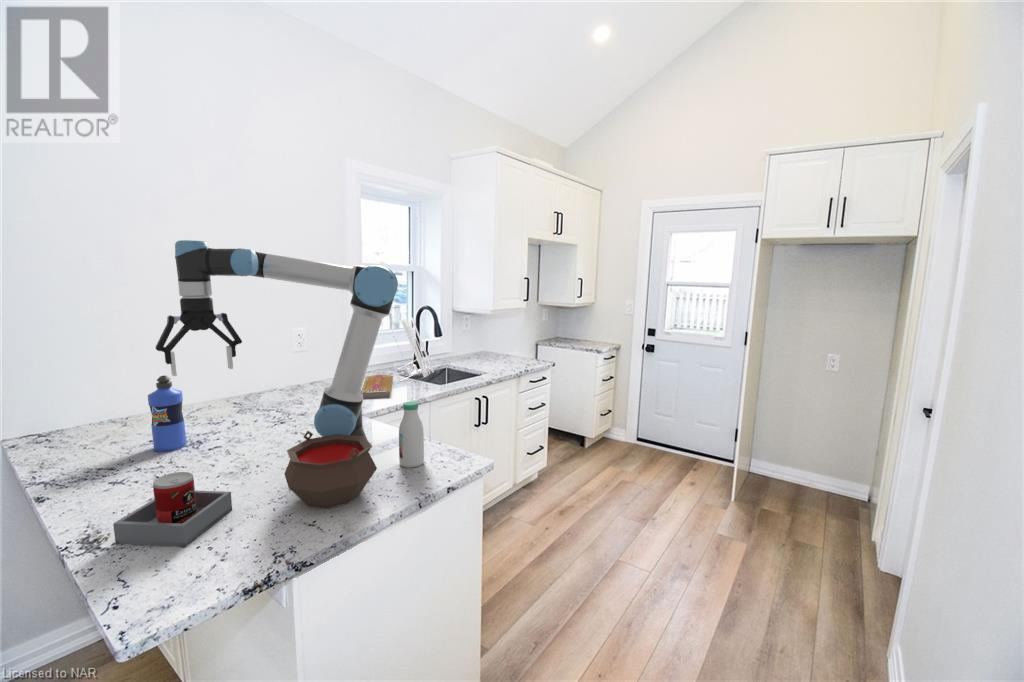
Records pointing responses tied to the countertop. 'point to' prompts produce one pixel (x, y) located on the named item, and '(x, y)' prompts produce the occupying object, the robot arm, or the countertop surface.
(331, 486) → the brown cooking pot
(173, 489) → the canned food
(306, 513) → the countertop surface
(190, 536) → the bin
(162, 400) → the water bottle
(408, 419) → the milk bottle
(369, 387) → the orange triangular wedge
